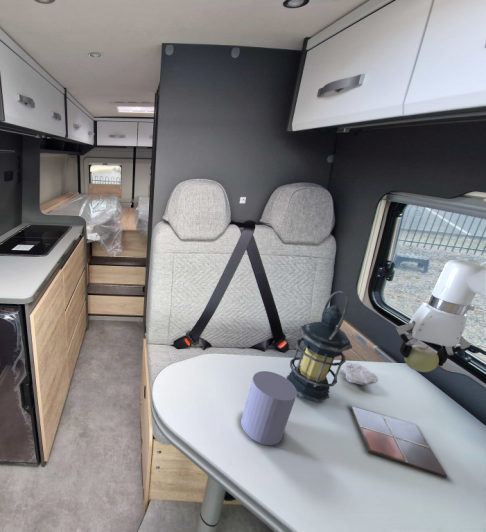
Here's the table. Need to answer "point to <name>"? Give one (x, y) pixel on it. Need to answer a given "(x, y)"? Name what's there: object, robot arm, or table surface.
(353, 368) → the fossil
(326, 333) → the lantern
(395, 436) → the board
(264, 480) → the table surface
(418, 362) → the fruit
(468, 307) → the robot arm
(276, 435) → the container
